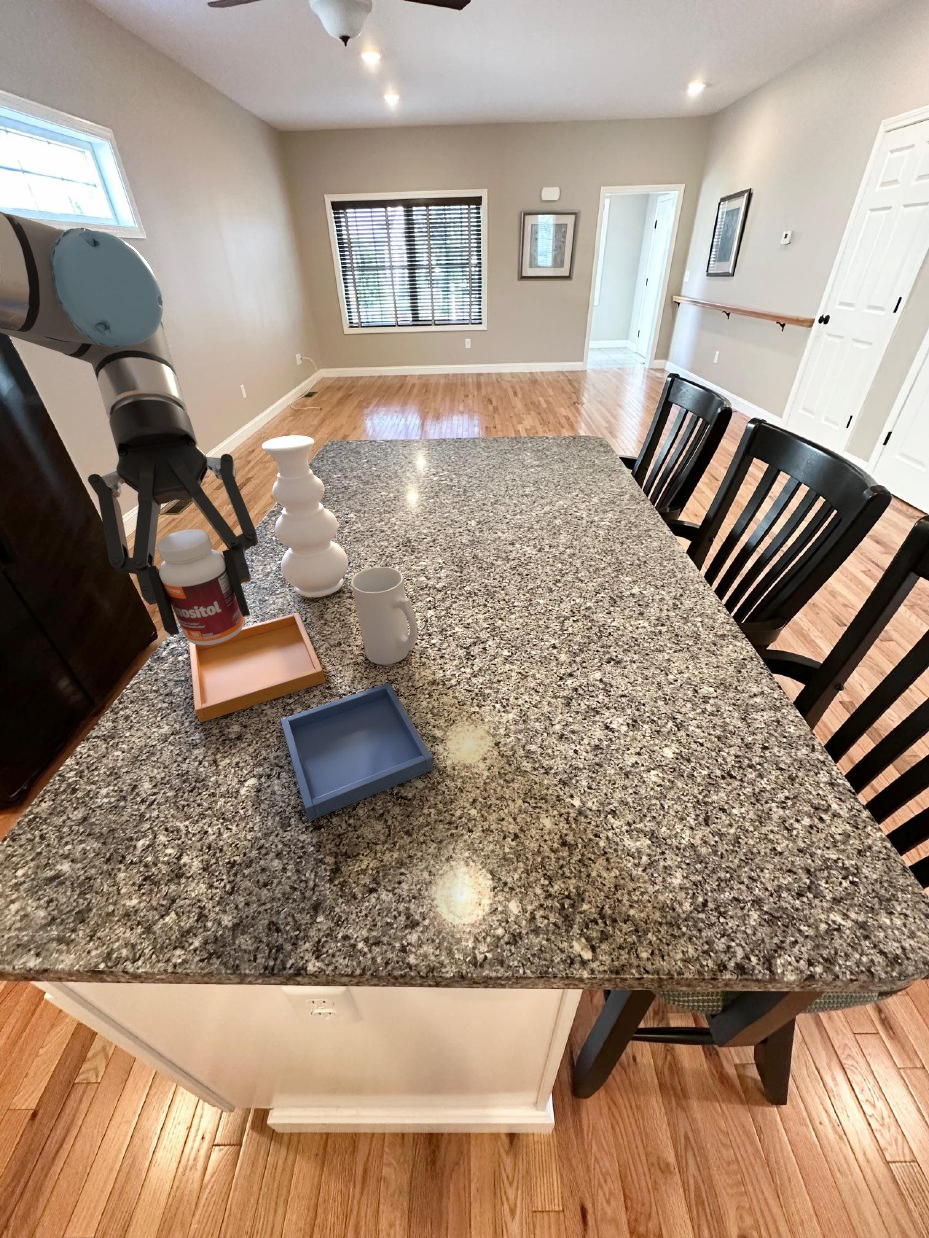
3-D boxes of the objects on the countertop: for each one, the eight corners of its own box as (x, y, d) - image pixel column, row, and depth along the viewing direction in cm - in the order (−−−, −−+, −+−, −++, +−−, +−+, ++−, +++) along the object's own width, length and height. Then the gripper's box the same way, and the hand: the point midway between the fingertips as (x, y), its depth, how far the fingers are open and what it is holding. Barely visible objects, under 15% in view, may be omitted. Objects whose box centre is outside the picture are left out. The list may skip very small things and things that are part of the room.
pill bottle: (176, 649, 54) (134, 556, 47) (198, 616, 59) (162, 527, 52) (237, 645, 54) (203, 552, 47) (253, 612, 59) (224, 524, 52)
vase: (312, 568, 95) (280, 428, 80) (363, 577, 91) (340, 433, 77) (274, 598, 86) (231, 448, 72) (329, 610, 83) (296, 455, 69)
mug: (354, 653, 73) (340, 581, 67) (389, 631, 78) (379, 561, 71) (402, 683, 68) (392, 608, 61) (437, 658, 72) (431, 585, 65)
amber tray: (200, 722, 63) (194, 710, 62) (193, 653, 75) (188, 641, 73) (325, 682, 69) (322, 670, 67) (301, 623, 80) (298, 612, 79)
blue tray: (309, 821, 51) (305, 808, 50) (284, 731, 61) (280, 719, 60) (433, 769, 56) (432, 757, 55) (391, 694, 66) (389, 682, 65)
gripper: (247, 425, 61) (305, 605, 58) (59, 451, 54) (114, 656, 52) (240, 384, 54) (305, 587, 51) (23, 408, 47) (84, 643, 45)
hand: (209, 621), depth 52 cm, fingers closed on pill bottle, 6 cm apart
